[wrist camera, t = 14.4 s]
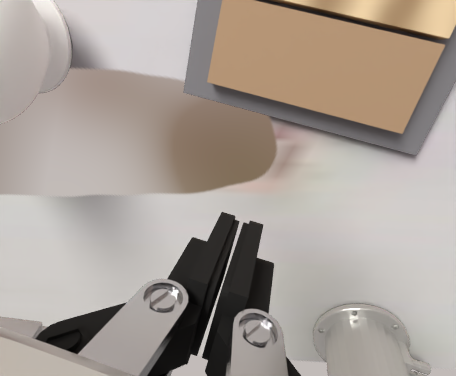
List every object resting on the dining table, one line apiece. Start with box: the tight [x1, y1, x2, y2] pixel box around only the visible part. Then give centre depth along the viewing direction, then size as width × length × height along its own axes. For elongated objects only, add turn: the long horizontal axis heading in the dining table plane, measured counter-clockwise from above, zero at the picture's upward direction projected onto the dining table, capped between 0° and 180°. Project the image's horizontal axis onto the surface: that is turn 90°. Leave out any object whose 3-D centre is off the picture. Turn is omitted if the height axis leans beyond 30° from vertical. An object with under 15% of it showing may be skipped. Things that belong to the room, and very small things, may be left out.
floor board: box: [184, 0, 456, 155], centre depth 28 cm, size 26×22×3 cm
